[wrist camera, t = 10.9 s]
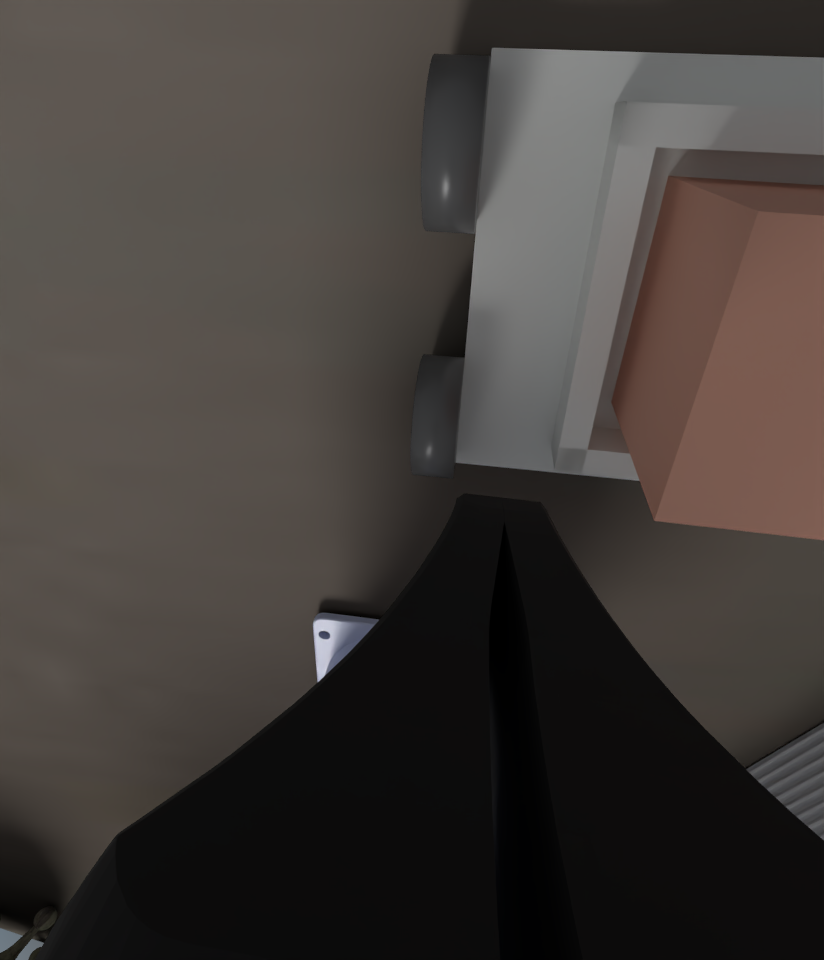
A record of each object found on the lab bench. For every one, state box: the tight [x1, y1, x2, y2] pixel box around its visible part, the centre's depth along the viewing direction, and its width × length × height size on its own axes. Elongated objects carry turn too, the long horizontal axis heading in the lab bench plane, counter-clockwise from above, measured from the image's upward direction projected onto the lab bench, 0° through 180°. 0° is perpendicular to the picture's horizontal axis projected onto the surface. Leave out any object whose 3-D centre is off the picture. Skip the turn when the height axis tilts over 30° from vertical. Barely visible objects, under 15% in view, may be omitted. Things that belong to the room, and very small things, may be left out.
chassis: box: [411, 48, 824, 481], centre depth 15 cm, size 11×15×4 cm
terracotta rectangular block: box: [611, 176, 824, 540], centre depth 13 cm, size 6×4×6 cm, turn 178°
